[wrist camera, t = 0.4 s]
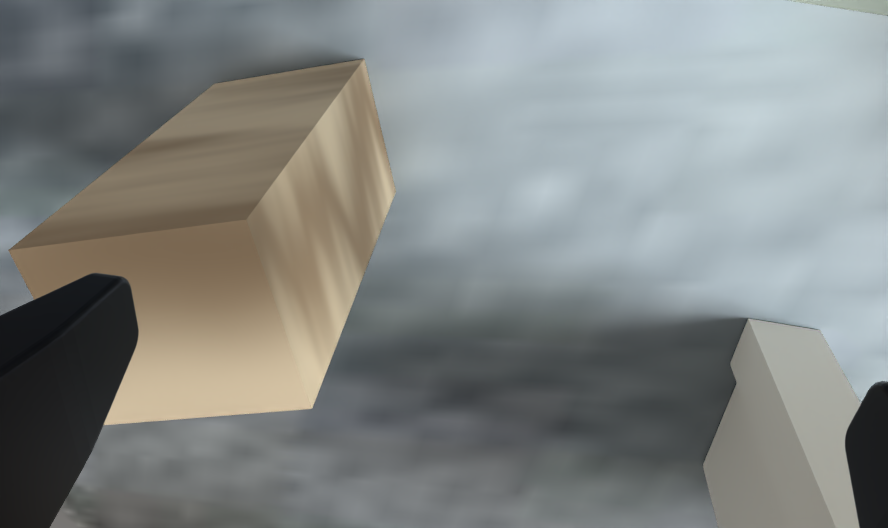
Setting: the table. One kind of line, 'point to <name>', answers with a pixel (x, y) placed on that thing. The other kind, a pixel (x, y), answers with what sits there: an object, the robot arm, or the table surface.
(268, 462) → the table surface
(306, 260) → the block
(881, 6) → the door
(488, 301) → the table surface
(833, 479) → the wall frame
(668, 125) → the table surface
